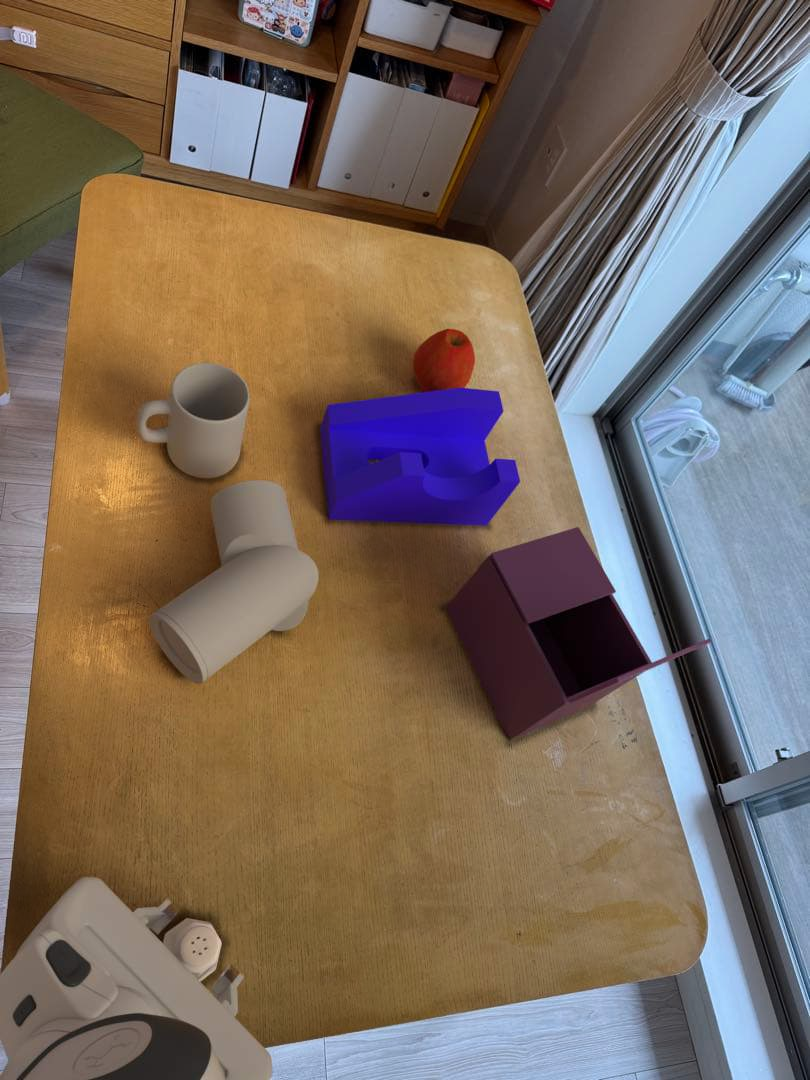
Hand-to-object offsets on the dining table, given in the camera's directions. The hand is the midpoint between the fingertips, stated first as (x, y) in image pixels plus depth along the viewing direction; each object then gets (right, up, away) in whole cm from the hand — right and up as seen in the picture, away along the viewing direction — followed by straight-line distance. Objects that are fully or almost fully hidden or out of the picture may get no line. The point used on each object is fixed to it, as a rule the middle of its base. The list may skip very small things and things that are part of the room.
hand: (200, 942), depth 63 cm
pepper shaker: (-2, -3, +5) cm, 6 cm away
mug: (-9, +44, +30) cm, 53 cm away
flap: (+39, +21, +11) cm, 45 cm away
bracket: (+16, +41, +37) cm, 58 cm away
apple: (+21, +55, +47) cm, 75 cm away
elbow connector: (-3, +26, +22) cm, 34 cm away
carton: (+30, +19, +29) cm, 46 cm away
